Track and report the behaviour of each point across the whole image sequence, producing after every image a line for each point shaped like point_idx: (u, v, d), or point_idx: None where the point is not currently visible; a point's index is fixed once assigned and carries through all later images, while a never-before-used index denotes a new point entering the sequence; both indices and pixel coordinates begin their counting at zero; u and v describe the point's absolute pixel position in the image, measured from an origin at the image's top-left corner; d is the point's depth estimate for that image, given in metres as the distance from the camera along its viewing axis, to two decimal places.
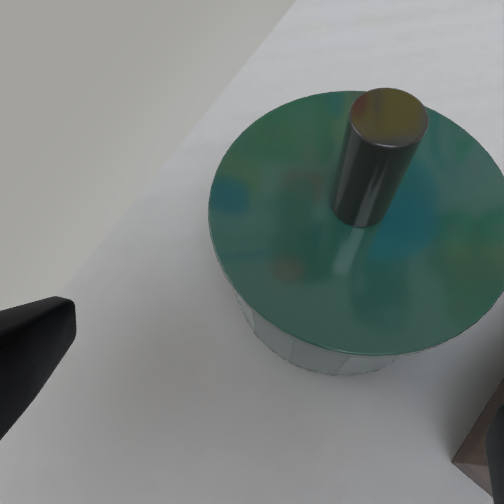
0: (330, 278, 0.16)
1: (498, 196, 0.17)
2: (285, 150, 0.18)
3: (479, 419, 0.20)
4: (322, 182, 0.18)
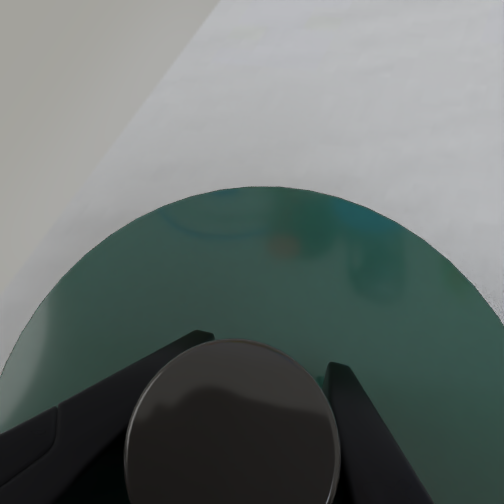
0: None
1: None
2: (131, 316, 0.10)
3: None
4: None
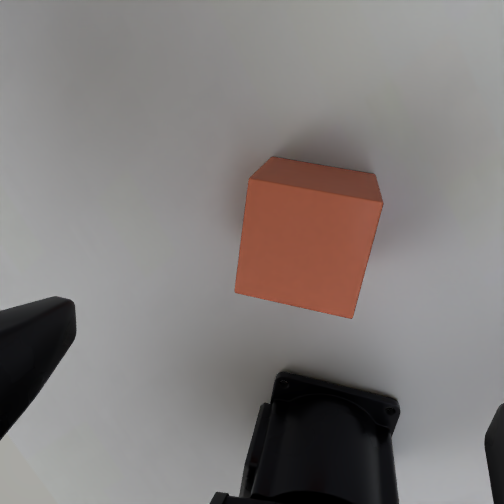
0: None
1: None
2: None
3: None
4: None
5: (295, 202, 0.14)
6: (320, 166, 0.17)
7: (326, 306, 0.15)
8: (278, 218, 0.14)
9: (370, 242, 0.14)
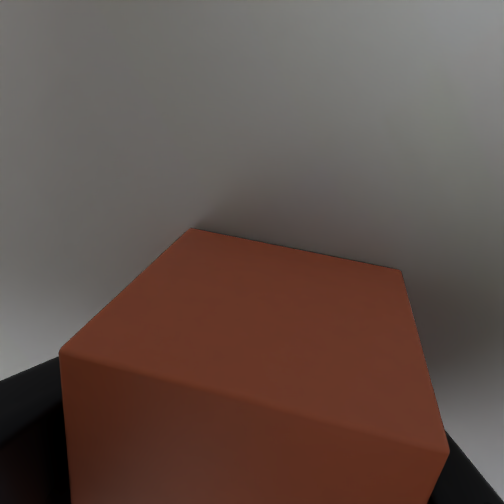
0: None
1: None
2: None
3: None
4: None
5: (189, 419, 0.05)
6: (285, 254, 0.08)
7: None
8: (150, 450, 0.05)
9: None
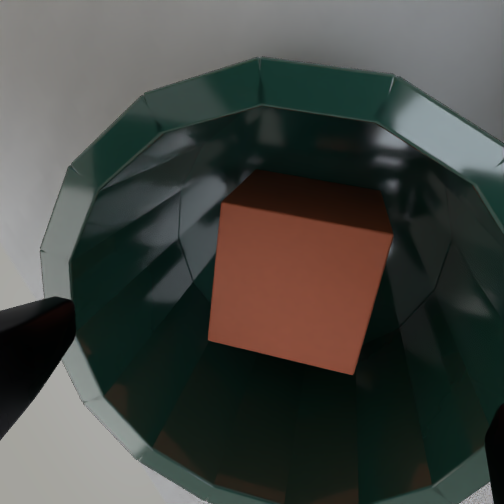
0: None
1: None
2: None
3: None
4: None
5: (280, 232, 0.11)
6: (314, 181, 0.14)
7: (321, 359, 0.12)
8: (259, 252, 0.11)
9: (377, 283, 0.11)
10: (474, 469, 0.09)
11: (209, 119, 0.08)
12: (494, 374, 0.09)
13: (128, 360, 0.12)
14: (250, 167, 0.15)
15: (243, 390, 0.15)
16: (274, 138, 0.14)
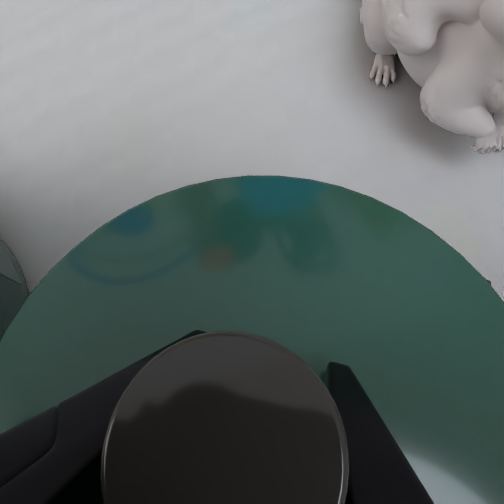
0: None
1: None
2: (122, 311, 0.10)
3: None
4: None
5: None
6: None
7: None
8: None
9: None
10: None
11: None
12: None
13: None
14: None
15: None
16: None
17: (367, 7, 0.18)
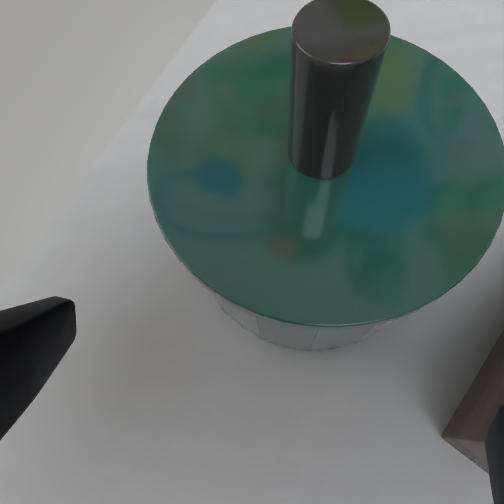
0: (289, 240, 0.13)
1: (484, 134, 0.14)
2: (236, 96, 0.16)
3: (471, 389, 0.19)
4: (279, 130, 0.15)
5: None
6: None
7: None
8: None
9: None
10: None
11: None
12: None
13: None
14: None
15: None
16: None
17: None
